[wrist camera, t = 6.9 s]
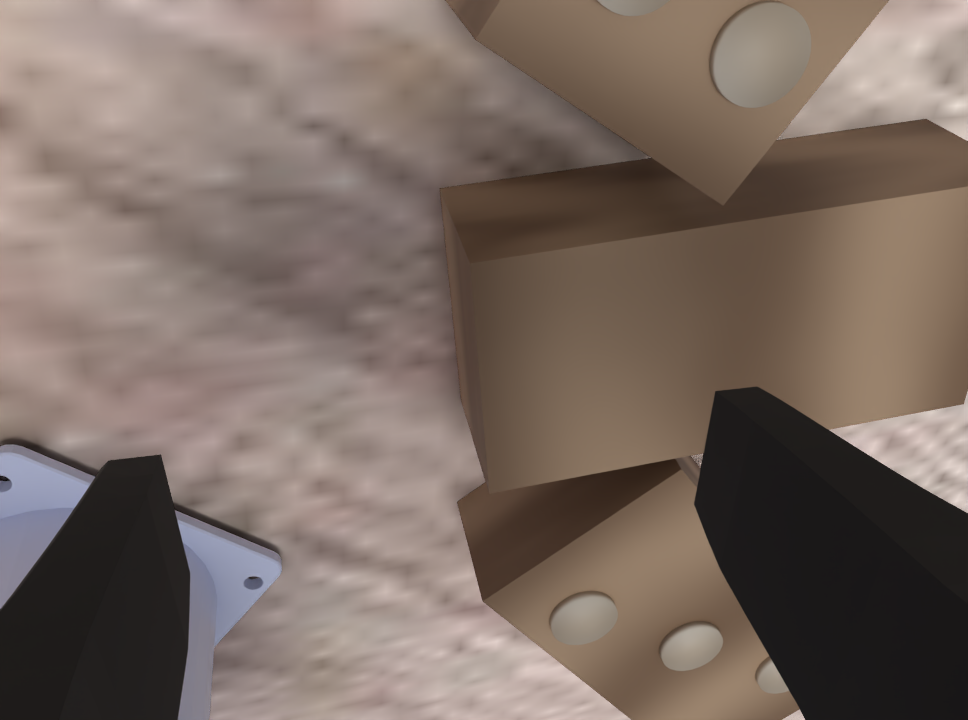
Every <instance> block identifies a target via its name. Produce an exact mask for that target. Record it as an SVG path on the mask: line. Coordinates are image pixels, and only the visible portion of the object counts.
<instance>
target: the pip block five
mask: <svg viewBox="0 0 968 720" xmlns="http://www.w3.org/2000/svg"><path fill="white" fill-rule="evenodd" d="M445 1H446V2H447V3H448V4H449V6H450V7H451V8H452V10H453V11H454V12H455V14H456V15H457V16H458V17H459V19H460V20H461V21H462V23H463V24H464V25H465V27H466V28H467V29H468V31H469V32H470V33H471V34H472V36H473V37H474V38H475V40H477V41H478V42H480V43H481V44H483V45H484V46H486V47H487V48H489V49H490V50H492V51H493V52H495V53H496V54H498V55H499V56H501V57H502V58H504V59H505V60H507V61H508V62H510V63H511V64H512V65H514V66H515V67H517V68H518V69H520V70H521V71H523V72H524V73H526V74H527V75H529V76H530V77H532V78H533V79H535V80H536V81H538V82H539V83H541V84H542V85H544V86H545V87H547V88H548V89H550V90H551V91H553V92H554V93H556V94H557V95H559V96H560V97H562V98H563V99H565V100H566V101H568V102H569V103H571V104H572V105H574V106H575V107H577V108H578V109H580V110H581V111H583V112H584V113H586V114H587V115H589V116H590V117H592V118H593V119H594V120H596V121H597V122H599V123H600V124H602V125H603V126H605V127H606V128H608V129H609V130H611V131H612V132H614V133H615V134H617V135H618V136H620V137H621V138H623V139H624V140H626V141H627V142H629V143H630V144H632V145H633V146H635V147H636V148H638V149H639V150H641V151H642V152H644V153H645V154H647V155H648V156H650V157H651V158H653V159H654V160H656V161H657V162H659V163H660V164H662V165H663V166H665V167H666V168H668V169H669V170H671V171H672V172H674V173H675V174H676V175H678V176H679V177H681V178H682V179H684V180H685V181H687V182H688V183H690V184H691V185H693V186H694V187H696V188H697V189H699V190H700V191H702V192H703V193H705V194H706V195H708V196H709V197H711V198H712V199H714V200H715V201H717V202H718V203H720V204H721V205H724V204H725V203H726V202H727V200H728V199H729V198H730V197H731V195H732V194H733V193H734V192H735V191H736V189H737V188H738V187H739V186H740V184H741V183H742V182H743V181H744V179H745V178H746V177H747V176H748V174H749V173H750V172H751V171H752V169H753V168H754V167H755V166H756V165H757V163H758V162H759V161H760V160H761V158H762V157H763V156H764V155H765V153H766V152H767V151H768V150H769V148H770V147H771V146H772V145H773V143H774V142H775V141H776V140H777V138H778V137H779V136H780V135H781V134H782V132H783V131H784V130H785V129H786V127H787V126H788V125H789V124H790V122H791V121H792V120H793V119H794V117H795V116H796V115H797V114H798V112H799V111H800V110H801V109H802V108H803V106H804V105H805V104H806V103H807V101H808V100H809V99H810V98H811V96H812V95H813V94H814V93H815V91H816V90H817V89H818V88H819V86H820V85H821V84H822V83H823V81H824V80H825V79H826V78H827V77H828V75H829V74H830V73H831V72H832V70H833V69H834V68H835V67H836V65H837V64H838V63H839V62H840V60H841V59H842V58H843V57H844V55H845V54H846V53H847V52H848V51H849V49H850V48H851V47H852V46H853V44H854V43H855V42H856V41H857V39H858V38H859V37H860V36H861V34H862V33H863V32H864V31H865V29H866V28H867V27H868V26H869V25H870V23H871V22H872V21H873V20H874V18H875V17H876V16H877V15H878V13H879V12H880V11H881V10H882V8H883V7H884V6H885V5H886V3H887V2H888V1H889V0H445Z"/></svg>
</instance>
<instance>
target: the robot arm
mask: <svg viewBox="0 0 968 720" xmlns="http://www.w3.org/2000/svg"><path fill="white" fill-rule="evenodd" d="M0 475H1V476H5V477H7V478H8V479H10V480H11V481H0V720H210V704H211V689H212V673H213V657H214V647H215V646H216V645H217V644H218V643H219V642H220V641H221V639H222V638H223V637H224V636H225V635H226V634H227V633H228V632H229V631H230V630H231V628H232V627H233V626H234V625H235V624H236V623H237V622H238V621H239V620H240V619H241V618H242V616H243V615H244V614H245V613H246V612H247V611H248V610H249V609H250V608H251V607H252V606H253V604H254V603H255V602H256V601H257V600H258V599H259V598H260V597H261V596H262V595H263V594H264V592H265V591H266V590H267V589H268V588H269V587H270V586H271V585H272V584H273V583H274V581H275V580H276V579H277V578H278V577H279V576H280V574H281V572H282V559H281V557H280V556H279V554H277V553H276V552H274V551H272V550H269V549H267V548H265V547H262V546H260V545H257V544H255V543H253V542H250V541H248V540H245V539H243V538H241V537H238V536H236V535H234V534H231V533H229V532H226V531H224V530H222V529H219V528H217V527H214V526H212V525H210V524H207V523H205V522H202V521H200V520H198V519H195V518H193V517H190V516H188V515H186V514H183V513H181V512H178V511H176V510H175V509H174V505H173V501H172V497H171V493H170V489H169V485H168V481H167V477H166V473H165V469H164V465H163V461H162V457H161V455H154V456H145V457H136V458H127V459H119V460H110V461H108V462H107V463H106V464H105V465H104V466H103V467H102V468H101V470H100V471H99V473H98V474H97V475H96V477H94V476H92V475H90V474H87V473H85V472H83V471H80V470H78V469H75V468H73V467H71V466H68V465H66V464H63V463H61V462H59V461H56V460H54V459H51V458H49V457H47V456H44V455H42V454H39V453H37V452H35V451H32V450H30V449H27V448H25V447H22V446H18V445H3V446H0ZM694 506H695V508H696V511H697V513H698V516H699V519H700V521H701V524H702V526H703V529H704V532H705V534H706V537H707V539H708V542H709V544H710V547H711V549H712V551H713V554H714V556H715V558H716V561H717V563H718V566H719V568H720V570H721V572H722V574H723V575H724V577H725V579H726V581H727V583H728V584H729V586H730V588H731V590H732V592H733V593H734V595H735V597H736V599H737V600H738V602H739V604H740V606H741V608H742V609H743V611H744V613H745V615H746V616H747V618H748V620H749V622H750V623H751V625H752V627H753V629H754V630H755V632H756V634H757V636H758V637H759V639H760V641H761V642H762V644H763V646H764V648H765V649H766V651H767V653H768V655H769V656H770V658H771V660H772V662H773V663H774V665H775V667H776V669H777V670H778V672H779V674H780V675H781V677H782V679H783V681H784V682H785V684H786V686H787V688H788V689H789V691H790V693H791V695H792V696H793V698H794V700H795V701H796V703H797V705H798V707H799V708H800V710H801V712H802V714H803V716H804V718H805V720H968V513H966V512H964V511H962V510H961V509H959V508H957V507H955V506H954V505H952V504H950V503H948V502H946V501H945V500H943V499H941V498H939V497H937V496H936V495H934V494H932V493H930V492H928V491H927V490H925V489H923V488H922V487H920V486H918V485H917V484H915V483H913V482H911V481H910V480H908V479H906V478H905V477H903V476H901V475H900V474H898V473H896V472H895V471H893V470H891V469H890V468H888V467H887V466H885V465H883V464H882V463H880V462H878V461H877V460H875V459H874V458H872V457H870V456H869V455H867V454H866V453H864V452H862V451H861V450H859V449H858V448H856V447H854V446H853V445H851V444H850V443H848V442H847V441H845V440H843V439H842V438H840V437H839V436H837V435H836V434H834V433H832V432H831V431H829V430H828V429H826V428H825V427H823V426H822V425H820V424H818V423H817V422H815V421H814V420H812V419H811V418H809V417H807V416H806V415H804V414H803V413H801V412H800V411H798V410H796V409H795V408H793V407H792V406H790V405H788V404H787V403H785V402H783V401H782V400H780V399H779V398H777V397H775V396H773V395H772V394H770V393H768V392H766V391H765V390H763V389H761V388H759V387H757V386H756V387H747V388H739V389H730V390H721V391H715V395H714V401H713V406H712V411H711V416H710V422H709V427H708V432H707V438H706V443H705V448H704V453H703V459H702V464H701V469H700V475H699V480H698V485H697V490H696V496H695V501H694ZM252 576H256V577H259V578H257V579H249V578H248V577H252Z"/></svg>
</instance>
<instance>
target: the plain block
mask: <svg viewBox="0 0 968 720" xmlns="http://www.w3.org/2000/svg"><path fill="white" fill-rule="evenodd" d="M440 197H441V207H442V217H443V227H444V237H445V247H446V256H447V266H448V276H449V286H450V296H451V306H452V316H453V326H454V336H455V346H456V356H457V365H458V375H459V385H460V395H461V402H462V405H463V408H464V412H465V415H466V418H467V421H468V425H469V428H470V431H471V435H472V438H473V441H474V445H475V448H476V451H477V454H478V458H479V461H480V464H481V468H482V471H483V474H484V478H485V481H486V484H487V487H488V491H489V494H490V493H495V492H501V491H506V490H511V489H516V488H522V487H527V486H532V485H538V484H543V483H548V482H554V481H559V480H564V479H569V478H575V477H580V476H585V475H591V474H596V473H601V472H607V471H612V470H617V469H622V468H628V467H633V466H638V465H644V464H649V463H654V462H659V461H665V460H670V459H675V458H681V457H686V456H691V455H697V454H702V453H704V448H705V443H706V438H707V432H708V427H709V422H710V416H711V411H712V406H713V401H714V395H715V391H721V390H730V389H739V388H747V387H756V386H757V387H759V388H761V389H763V390H765V391H766V392H768V393H770V394H772V395H773V396H775V397H777V398H779V399H780V400H782V401H783V402H785V403H787V404H788V405H790V406H792V407H793V408H795V409H796V410H798V411H800V412H801V413H803V414H804V415H806V416H807V417H809V418H811V419H812V420H814V421H815V422H817V423H818V424H820V425H822V426H823V427H825V428H826V429H828V430H829V429H834V428H840V427H845V426H850V425H855V424H861V423H866V422H871V421H877V420H882V419H887V418H893V417H898V416H903V415H908V414H914V413H919V412H924V411H930V410H935V409H940V408H946V407H951V406H956V405H961V404H964V401H965V398H966V394H967V391H968V141H966V140H964V139H962V138H960V137H959V136H957V135H955V134H953V133H951V132H949V131H947V130H946V129H944V128H942V127H940V126H938V125H936V124H934V123H933V122H931V121H929V120H927V119H922V120H915V121H908V122H901V123H894V124H887V125H880V126H873V127H866V128H859V129H852V130H845V131H838V132H831V133H824V134H817V135H810V136H803V137H796V138H789V139H782V140H776V141H775V142H774V143H773V145H772V146H771V147H770V148H769V150H768V151H767V152H766V153H765V155H764V156H763V157H762V158H761V160H760V161H759V162H758V163H757V165H756V166H755V167H754V168H753V169H752V171H751V172H750V173H749V174H748V176H747V177H746V178H745V179H744V181H743V182H742V183H741V184H740V186H739V187H738V188H737V189H736V191H735V192H734V193H733V194H732V195H731V197H730V198H729V199H728V200H727V202H726V203H725V204H724V205H721V204H720V203H718V202H717V201H715V200H714V199H712V198H711V197H709V196H708V195H706V194H705V193H703V192H702V191H700V190H699V189H697V188H696V187H694V186H693V185H691V184H690V183H688V182H687V181H685V180H684V179H682V178H681V177H679V176H678V175H676V174H675V173H674V172H672V171H671V170H669V169H668V168H666V167H665V166H663V165H662V164H660V163H659V162H657V161H656V160H654V159H653V158H649V159H642V160H635V161H627V162H620V163H613V164H606V165H599V166H592V167H585V168H578V169H571V170H564V171H557V172H550V173H543V174H536V175H529V176H522V177H515V178H508V179H501V180H494V181H487V182H480V183H473V184H466V185H459V186H452V187H445V188H440Z"/></svg>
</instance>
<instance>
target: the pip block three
mask: <svg viewBox="0 0 968 720" xmlns="http://www.w3.org/2000/svg"><path fill="white" fill-rule="evenodd" d="M700 469H701V468H700V467H699V466H698V465H697V463H696V462H695V461H694V460H693V458H692V457H691V456H686V457H681V458H675V459H670V460H665V461H659V462H654V463H649V464H644V465H638V466H633V467H628V468H622V469H617V470H612V471H607V472H601V473H596V474H591V475H585V476H580V477H575V478H569V479H564V480H559V481H554V482H548V483H543V484H538V485H532V486H527V487H522V488H516V489H511V490H506V491H501V492H495V493H490V494H489V491H488V487H487V484H486V482H485V483H484V484H482V485H481V486H479V487H478V488H477V489H475V490H474V491H472V492H471V493H469V494H468V495H466V496H465V497H464V498H462V499H461V500H459V501H458V502H457V504H458V508H459V511H460V515H461V519H462V523H463V527H464V531H465V535H466V539H467V542H468V546H469V550H470V554H471V558H472V562H473V566H474V569H475V573H476V577H477V581H478V585H479V589H480V593H481V597H482V600H483V602H484V603H485V604H487V605H488V606H489V607H490V608H492V609H493V610H494V611H496V612H497V613H498V614H499V615H501V616H502V617H503V618H504V619H506V620H507V621H508V622H509V623H511V624H512V625H513V626H514V627H516V628H517V629H518V630H519V631H521V632H522V633H523V634H524V635H526V636H527V637H528V638H529V639H531V640H532V641H533V642H535V643H536V644H537V645H538V646H540V647H541V648H542V649H543V650H545V651H546V652H547V653H548V654H550V655H551V656H552V657H553V658H555V659H556V660H557V661H558V662H560V663H561V664H562V665H563V666H565V667H566V668H567V669H568V670H570V671H571V672H572V673H574V674H575V675H576V676H577V677H579V678H580V679H581V680H582V681H584V682H585V683H586V684H587V685H589V686H590V687H591V688H592V689H594V690H595V691H596V692H597V693H599V694H600V695H601V696H602V697H604V698H605V699H606V700H607V701H609V702H610V703H611V704H613V705H614V706H615V707H616V708H618V709H619V710H620V711H621V712H623V713H624V714H625V715H626V716H628V717H629V718H630V719H631V720H782V719H784V718H785V717H787V716H789V715H790V714H792V713H794V712H796V711H797V710H799V709H800V708H799V707H798V705H797V703H796V701H795V700H794V698H793V696H792V695H791V693H790V691H789V689H788V688H787V686H786V684H785V682H784V681H783V679H782V677H781V675H780V674H779V672H778V670H777V669H776V667H775V665H774V663H773V662H772V660H771V658H770V656H769V655H768V653H767V651H766V649H765V648H764V646H763V644H762V642H761V641H760V639H759V637H758V636H757V634H756V632H755V630H754V629H753V627H752V625H751V623H750V622H749V620H748V618H747V616H746V615H745V613H744V611H743V609H742V608H741V606H740V604H739V602H738V600H737V599H736V597H735V595H734V593H733V592H732V590H731V588H730V586H729V584H728V583H727V581H726V579H725V577H724V575H723V574H722V572H721V570H720V568H719V566H718V563H717V561H716V558H715V556H714V554H713V551H712V549H711V547H710V544H709V542H708V539H707V537H706V534H705V532H704V529H703V526H702V524H701V521H700V519H699V516H698V513H697V511H696V508H695V506H694V501H695V496H696V490H697V485H698V480H699V475H700Z"/></svg>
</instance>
